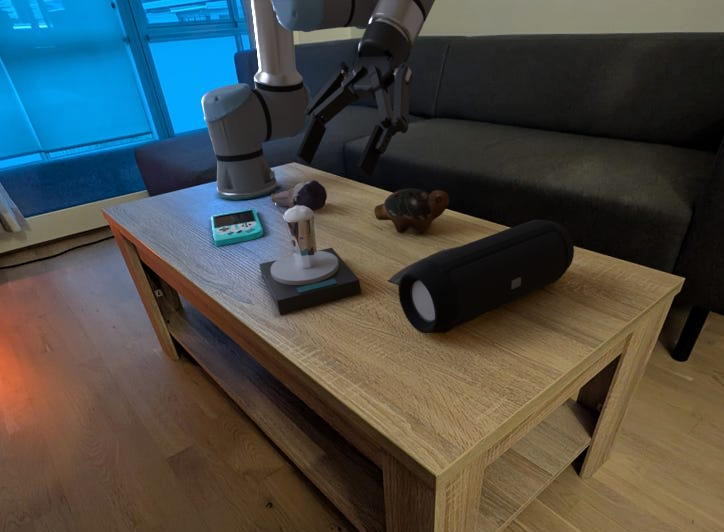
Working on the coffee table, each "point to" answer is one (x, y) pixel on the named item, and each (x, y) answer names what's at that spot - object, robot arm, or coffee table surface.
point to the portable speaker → (484, 275)
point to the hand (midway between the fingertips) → (331, 165)
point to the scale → (309, 281)
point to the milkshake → (302, 235)
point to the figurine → (303, 196)
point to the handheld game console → (236, 227)
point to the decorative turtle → (412, 209)
